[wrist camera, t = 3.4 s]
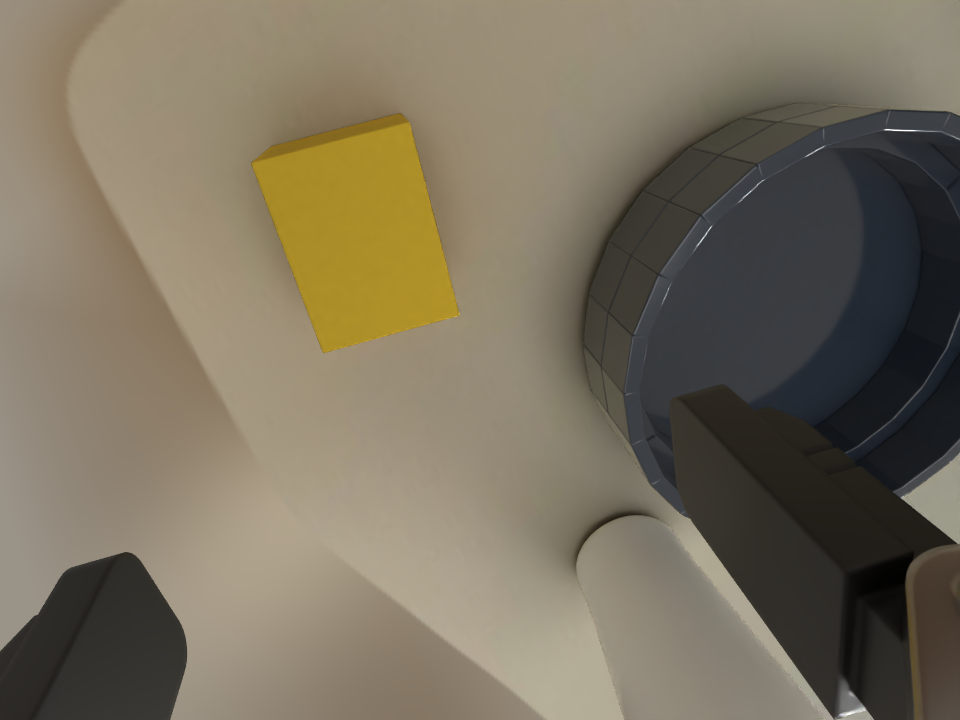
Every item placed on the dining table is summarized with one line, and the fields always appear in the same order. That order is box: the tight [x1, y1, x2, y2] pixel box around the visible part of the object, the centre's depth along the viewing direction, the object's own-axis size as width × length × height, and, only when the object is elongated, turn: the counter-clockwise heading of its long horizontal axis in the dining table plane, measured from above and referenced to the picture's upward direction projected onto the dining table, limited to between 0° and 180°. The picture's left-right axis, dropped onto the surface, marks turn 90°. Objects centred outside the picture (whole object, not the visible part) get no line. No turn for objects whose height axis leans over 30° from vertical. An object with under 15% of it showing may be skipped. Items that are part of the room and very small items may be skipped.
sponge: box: [251, 113, 459, 353], centre depth 20 cm, size 4×6×4 cm
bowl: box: [583, 103, 960, 518], centre depth 24 cm, size 16×16×5 cm
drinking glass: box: [576, 515, 826, 720], centre depth 24 cm, size 7×7×15 cm
